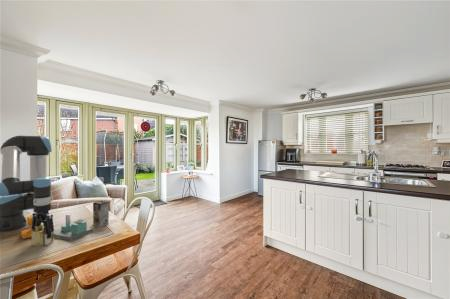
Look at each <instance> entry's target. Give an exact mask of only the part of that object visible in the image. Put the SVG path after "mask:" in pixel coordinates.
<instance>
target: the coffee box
mask: <svg viewBox="0 0 450 299" xmlns="http://www.w3.org/2000/svg"><path fill="white" fill-rule="evenodd" d="M92 205H93V206H92V208H93V210H92V211H93V213H92V215H93V217H92V218H93V220H92V221H93V225H95V226H97V227H103V226H106V225H108V224H109V206H110V205H109V202H108V201H104V200H98V201H95V202H93V203H92Z"/></svg>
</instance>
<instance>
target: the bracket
mask: <svg viewBox="0 0 450 299" xmlns="http://www.w3.org/2000/svg"><path fill="white" fill-rule="evenodd" d="M32 219H33V215H32V216H27V219H26V221H27V227H29V226H32ZM32 231H33V230H32V229H31V228H28V229H24V230H21V238H22V239H28V238H32Z"/></svg>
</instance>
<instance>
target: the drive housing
mask: <svg viewBox="0 0 450 299" xmlns="http://www.w3.org/2000/svg"><path fill="white" fill-rule="evenodd" d="M87 222H88V221H85V219H84V217H83V218H82V217H81V218H80V219H77V220H75V221H74V222H72V223H71V214H70V213H69V214H68V213H67V214H65V224H64V225H62V226H61V227H60V228H58V229H56V230H55V229H54V239H55V238H56V239H60V240H65V241H70V242H71V241H72V242H73V241H74V240H76V239H79V238H81V237H84V236H85V235H88V234H90V233H92V232H93V231H94V228H93V227H88V225H87Z"/></svg>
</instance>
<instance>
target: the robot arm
mask: <svg viewBox="0 0 450 299" xmlns="http://www.w3.org/2000/svg"><path fill="white" fill-rule="evenodd" d="M22 153H26V155H27V156H28V157H29V178H30V179H29V180H21V156H20V155H22ZM50 153H52V143H51V141H50V138H49V137H48V136H44V135H15V136H12V137H10V138H8V139H6V140H5V141H4V142H3V143H2V145H1V146H0V154H1V155H2V157H1V158H2V164H1V182H0V232H10V231H13V230H18V229H21V228H23V227H25V226H28V223H27V219H26V217H25V215H24V211H28V210H29V211H30V210H33V213H32V214H31V215H32V216H33V219H32V225H31V228H30V229H32V230H36V226H38V225H43V227H44V228H45V232H46V233H44V234H45V245H44V246H46V245H49V244H51V243H52V242H51V232H53V231H55V227H54V218H53V216H54V214H52V213H51V214H50V213H49V211H50V210H52V204H51V203H52V182H51V181H52V180H51V178H50V177H48V176H47V156H49V155H50Z"/></svg>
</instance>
